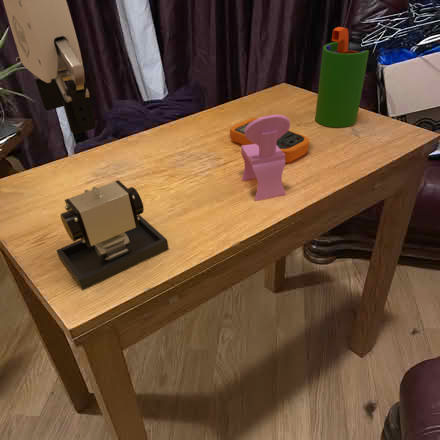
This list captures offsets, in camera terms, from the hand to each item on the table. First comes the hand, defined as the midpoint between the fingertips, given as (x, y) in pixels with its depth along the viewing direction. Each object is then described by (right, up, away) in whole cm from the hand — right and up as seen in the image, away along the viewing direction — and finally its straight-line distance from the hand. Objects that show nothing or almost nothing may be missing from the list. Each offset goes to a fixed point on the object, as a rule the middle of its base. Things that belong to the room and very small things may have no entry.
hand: (69, 118), depth 57 cm
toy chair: (+29, -2, +27) cm, 40 cm away
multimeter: (+31, +10, +39) cm, 51 cm away
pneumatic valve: (+2, -16, +14) cm, 22 cm away
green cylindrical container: (+48, +19, +48) cm, 70 cm away
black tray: (+2, -17, +15) cm, 22 cm away
